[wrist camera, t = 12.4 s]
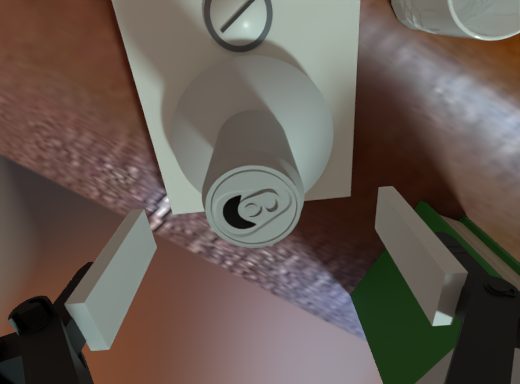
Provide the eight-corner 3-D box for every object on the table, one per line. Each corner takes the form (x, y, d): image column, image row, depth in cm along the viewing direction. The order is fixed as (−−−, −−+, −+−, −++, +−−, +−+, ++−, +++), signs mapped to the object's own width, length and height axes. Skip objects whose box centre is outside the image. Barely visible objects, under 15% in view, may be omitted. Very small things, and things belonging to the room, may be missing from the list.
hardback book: (420, 200, 37) (640, 421, 16) (467, 217, 39) (725, 441, 18) (350, 295, 45) (437, 529, 24) (391, 307, 47) (508, 537, 25)
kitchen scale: (351, -46, 25) (371, -61, 21) (343, 184, 36) (356, 205, 32) (119, -17, 26) (93, -27, 22) (178, 201, 36) (168, 224, 32)
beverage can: (205, 124, 27) (176, 185, 16) (271, 96, 26) (285, 141, 15) (235, 182, 30) (227, 266, 19) (296, 158, 29) (322, 233, 18)
